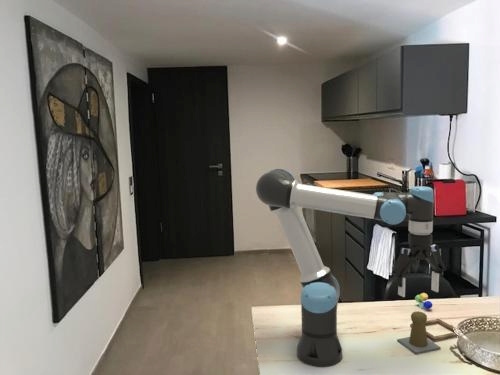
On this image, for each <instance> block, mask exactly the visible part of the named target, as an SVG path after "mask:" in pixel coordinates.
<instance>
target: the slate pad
mask: <svg viewBox="0 0 500 375" xmlns="http://www.w3.org/2000/svg"><path fill="white" fill-rule="evenodd" d="M396 339H397V342H398V343H399V344H400V345H401V346H403V347H404V348H406V349H407V350H409V351H410V352H411V353H413V354H414V355H420V354H425V353H430V352H434V351H440V350H442V349H441V346H439V345H438V344H437V343H435V342H433V341H431V340H430V339H428V338H427V342H428V345H427V346H426V347H415V346H413V345H411V344H410V343H409V340H410V336H407V337H403V338H402V337H401V338H396Z"/></svg>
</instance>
